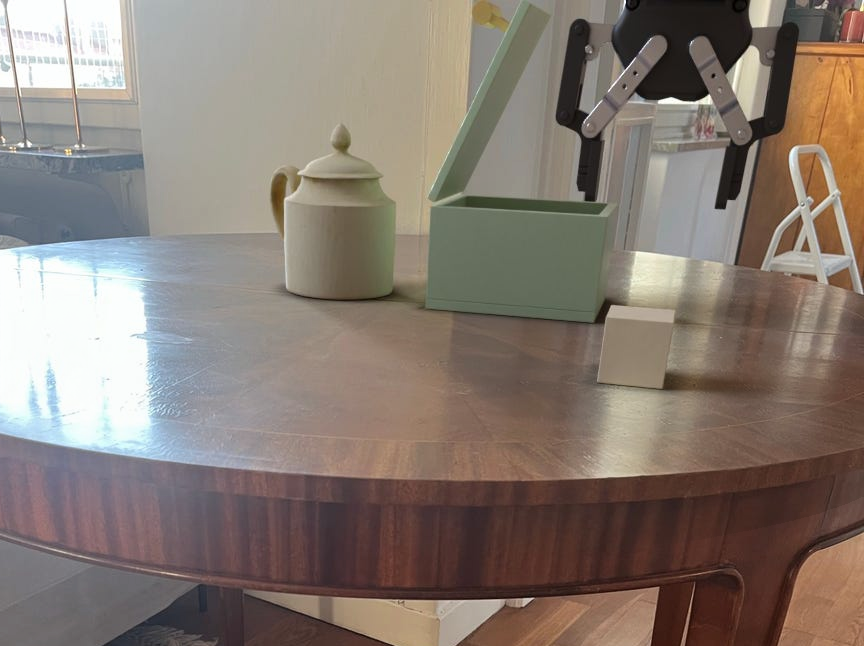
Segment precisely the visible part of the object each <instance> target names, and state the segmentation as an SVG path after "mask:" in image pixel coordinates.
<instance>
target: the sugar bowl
mask: <svg viewBox="0 0 864 646" xmlns="http://www.w3.org/2000/svg"><path fill="white" fill-rule="evenodd" d="M351 143H352V138H351V134H350V131H349V129H348V128H347V127H346V126H345V124H344V123H343V122H340V123H339V124H337V125H336V126H335V128H334V130H333V131H332V134H331V137H330V145H331V146H332V147H333V150H334V151H333V153H331V154H328V155H325V156H322V157H319V158H317V159H314V160H312V161H310V162H308V164H307V165H306V167H305V168H304V169H300V168H298V167H296V166H294V165H291V164H290V165H289V164H285V165H281V166H280V167H278V168H277V169H276V170H275V171H274V172H273V173H272V176H271V178H270V185H269V202H270V203H269V204H270V210H271V215H272V219H273V223H274V227H275V229H276V231H277V233H278V235H279V237H280V239H281V240H282V243H283V244H284V263H285V264H284V267H285V269H284V270H285V287H286V290H287V291H288V292H289V293H292V294H294V295H297V296H301V297H307V298H313V299H323V300H368V299H377V298H381V297H385V296H388V295H390V294H391V293H392V292H393V290H394V289H393V287H394V272H395V271H394V270H395V256H396V238H397V237H396V233H397V202H396V201H395V200H393V199H392V198H391V197H389V196H388V195H387V194H386V193H385V192H384V190H383V188H382V186H381V183H380V179H382V178H384V176H385V175H384V174H382V173H381V172H379V171H377V169H376V167H375V165H373V164H372V163H371V162H369V161H367V160H364V159H362V158H359V157H357V156H355V155H352V154H350V153H349V152H348V151H349V148H350V146H351ZM288 183H289V187H290V191H291V194H290V195H288V196H287V184H288Z"/></svg>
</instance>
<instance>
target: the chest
mask: <svg viewBox="0 0 864 646" xmlns="http://www.w3.org/2000/svg"><path fill="white" fill-rule="evenodd" d="M429 209H430V210H429V226H428V227H429V228H428V229H429V230H428V233H429V234H428V247H427V248H428V250H427V269H426V271H427V272H426V289H425V290H426V293H425V309H426V310H436V311H437V310H438V311H449V312H461V313H473V314H482V315H483V314H484V315H496V316H507V317H519V318H533V319H541V320H554V321H568V322H577V323H579V322H580V323H590V324H594V323H595V321H596V319H597V317H598V315H599V313H600V311H601V308H602V306H603V304H604V302H605V300H606V299H607V298H606V297H607V291H608V290H607V289H608V281H609V277H610V276H609V275H610V269H611V261H612V253H613V246H614V238H615V231H616V225H617V217H618V212H619V211H618V210H619V203H617V202H602V201H595V202H586V201H583V200H566V199H565V200H564V199H548V198H530V197H516V196H515V197H513V196H497V195H496V196H495V195H478V194H477V195H476V194H460V193H459V195H458V194H457V195H456V196H455V195H454V196H453V197H449V198H448V199H444V200H442V201H439V202H437V203H434V204H433V205H430V207H429Z"/></svg>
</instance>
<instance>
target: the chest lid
mask: <svg viewBox="0 0 864 646" xmlns="http://www.w3.org/2000/svg"><path fill="white" fill-rule="evenodd" d="M470 14H471V15H470V16H471V19H472V21H473V22H474V23H475V24H476V25H478V26H481V27H484V28H487V29H489V30H490V29H491V30H492V29H499V30H500V31H502V32H503V33H505V34H504V36H503V38H502V40H501V43H500V44H499V46H498V48H497V50H496V52H495V54H494V56H493V58H492V61H491V63H490V65H489V67H488V68H487V72H486V73H485V76H484V77H483V79H482V82H481V84H480V86H479V88H478V90H477V92H476V94H475V97H474V99H473V101H472V102H471V105H470V107H469V109H468V111H467V113H466V115H465V117H464V119H463V122H462V124H461V126H460V128H459V129H458V132H457V134H456V136H455V138H454V141H453V142H452V144H451V147H450V149H449V151H448V153H447V155H446V157H445V159H444V161H443V163H442V166H441V167H440V170H439V172H438V173H437V176H436V178H435V180H434V182H433V184H432V186H431V188H430V191H429V192H428V195H427V196H426V198H427V199H428V200H429V201H430V202H432V203H436V202H437V203H438V202H440V201H443V200H446V199H447V198H451V197H452V196H455V195H458V194H460V193H462V192H464V191H465V190H466V188H467V186H468V184H469V182H470V179H471V177H472V176H473V173H474V172H475V170H476V168H477V165H478V163H479V162H480V160H481V158H482V156H483V154H484V152H485V150H486V147H487V146H488V144H489V141H490V139H491V137H492V135H493V134H494V131H495V129H496V127H497V125H498V124H499V121H500V119H501V117H502V115H503V113H504V111H505V109H506V107H507V105H508V104H509V102H510V99H511V97H512V95H513V93H514V91H515V90H516V87H517V85H518V84H519V81H520V79H521V77H522V75H523V73H524V71H525V70H526V67H527V65H528V63H529V61H530V59H531V57H532V55H533V53H534V51H535V49H536V47H537V45H538V43H539V41H540V40H541V37H542V35H543V33H544V31H545V29H546V27H547V25H548V23H549V22H550V19H551V17H552V15H551V14H550V13H549V12H547V11H546V10H543V9H542V8H540V7H538V6H536V5H535V4H533V3H532V2H530V1H528V0H520V2H519V4H518V6H517V8H516V10H515V13H514V14H513V17H512V19H511V21H508V19H506V18H504V17H503V11H502V9H501V8H500V7H499V6H498V5H497V4H495V3H492V2H490V1H488V0H477V1H476V2H475V3H474V4H473V6H472V8H471V13H470Z"/></svg>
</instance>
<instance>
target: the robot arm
mask: <svg viewBox="0 0 864 646" xmlns="http://www.w3.org/2000/svg"><path fill="white" fill-rule="evenodd" d="M750 5H751V0H623V6H622V10H621V13H620V14H619V17H618V19H617V20H616V21H615V24H612V23H602V22H601V23H600V22H590V21H588V20H586V19H585V18H576V19H574V20H573V21H572V22H571V24H570V26H569V31H568V36H567V42H566V47H565V48H566V49H565V55H564V60H563V67H562V73H561V79H560V84H559V91H558V97H557V103H556V110H555V121H556V123H557V124H558V125H559V126H561V127H565V128H567V129H569V130H570V131H573V132H575V133H576V134H577V135H578V136H579V138H580V152H579V159H578V166H577V167H578V168H577V175H576V187H577V192H583V193H584V199H583V200H584V201H586V202H598V201H597V200H598V196H599V189H600V180H601V174H602V167H603V159H604V153H605V152H604V151H605V144H606V140H605V139H603V135H604V130H606V128H607V127H608V126H609V124H610V123H611V122H612V121H613V120H614V118H615V117H616V116H617V115H618V113H619V112H620V111H622V109H624V107H626V105H627V103H628V102H629V101H630V100H631V99H632V97H634V95H635V94H636V95H637V96H639V97H640V98H642V99H644V100H645V101H661V100H666V99H671V98H672V99H675V100H678V101H681V102H686V103H687V102H688V103H696V102H698V101H701V100H703V99H705V98H706V97H708V96H710V98H711V100H712V102H713V105H714V106H715V108H716V111H717V113H718V114H719V116H720V118H721V120H722V122H723V124H724V126H725V128H726V130H727V133H728V134H729V136H730V137H729V138H730V139H729V144H727V145H725V149H724V155H723V160H722V164H721V170H720V176H719V181H718V187H717V192H716V197H715V202H714V210H725V211H726V209H727V204H728V201H736V200H737V198H738V197H739V195H740V193H741V190H742V184H743V180H744V176H745V170H746V165H747V160H748V156H749V151H750V149H751V147H752V145H753V144H754V143H756V142H757V141H759V140H763V139H765V138H769V137H771V136H775V135H778V134H780V133H781V132H782V130H784V128H785V125H786V119H787V111H788V105H789V100H790V93H791V86H792V82H793V81H792V80H793V75H794V67H795V60H796V55H797V47H798V43H799V37H800V28H799V26H798V24H796V23H795V22H793V21H788V22H785V23H784V24H782V25H780V26H778V25H777V26H758V27H753V26H752V23H751V19H750V7H751V6H750ZM609 43H611V45H612V48H613V50H614V52H615V55H616V56H617V58H618V61H619V63H620V64H621V66H622V69H623V72H622V73H621V74H620V76H619V77H618V78H617V80H615V82H614V83H613V84H612V85H611V87H610V88H609V89H608V91H606V93H605V94H604V96H603V97H602V99H601V100H600V101H599V102H598V104H597V105H596V106H595V107H594V108H593V109H592V110H591V112H590V113H588V112H587V111H584V110H582V109H580V106H581V100H582V94H583V89H584V84H585V78H586V72H587V67H588V62H594V61H595V60H597V59H598V58H599V56H600V54H601V51H602V49H603V47H604V46H605V45H606V44H609ZM750 47H754V48H755V49H756V50H757V51H758V59H759V62H760V64H761V65H762V66H764V67H770V68H769V75H768V81H767V82H768V83H767V90H766V96H765V103H764V108H763V115H762V116H759V117H756V118H753V119H750V120H748V118H747V116H746V115H745V112H744V111H743V108H742V107H741V104H740V102H739V100H738V98H737V96H736V93H735V91H734V89H733V87H732V85H731V83H730V80H729V79H728V76H727V74H729V72H730V71H731V70H732V69H733V67H735V65H736V64H737V63H738V61H739V60H740V59H741V58H742V57H743V56H744V54H746V52H747V51H748V49H749V48H750ZM719 89H720V91H719Z"/></svg>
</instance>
